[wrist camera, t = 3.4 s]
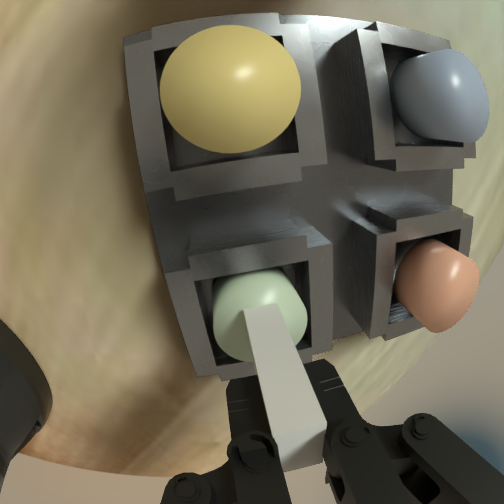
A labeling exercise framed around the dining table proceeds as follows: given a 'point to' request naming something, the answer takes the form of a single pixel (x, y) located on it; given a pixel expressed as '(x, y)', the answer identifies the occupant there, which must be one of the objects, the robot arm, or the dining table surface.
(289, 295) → the sage button
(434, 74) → the slate button
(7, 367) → the robot arm
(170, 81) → the mustard button
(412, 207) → the button panel
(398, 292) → the terracotta button
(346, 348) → the dining table surface
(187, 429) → the dining table surface
